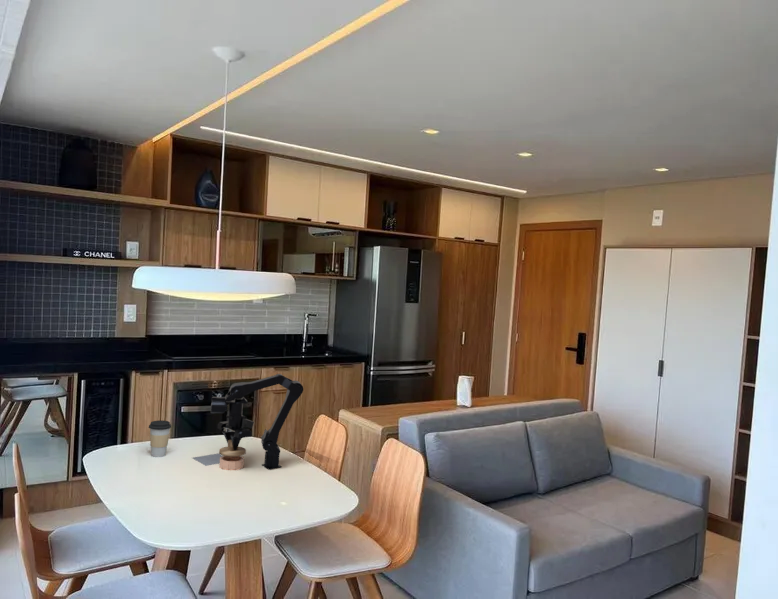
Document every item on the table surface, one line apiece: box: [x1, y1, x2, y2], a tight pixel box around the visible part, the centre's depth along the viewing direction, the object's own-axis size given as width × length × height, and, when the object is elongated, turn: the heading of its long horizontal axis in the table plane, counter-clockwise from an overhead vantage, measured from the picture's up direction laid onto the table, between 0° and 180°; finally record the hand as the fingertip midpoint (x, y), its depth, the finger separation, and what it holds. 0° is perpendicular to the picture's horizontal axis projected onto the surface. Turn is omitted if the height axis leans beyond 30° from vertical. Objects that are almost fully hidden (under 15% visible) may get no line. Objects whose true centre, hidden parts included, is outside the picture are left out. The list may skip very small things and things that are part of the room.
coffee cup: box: [148, 419, 172, 458], centre depth 260 cm, size 9×9×15 cm
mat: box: [192, 453, 223, 467], centre depth 260 cm, size 13×13×1 cm
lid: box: [218, 440, 247, 457], centre depth 252 cm, size 11×11×5 cm
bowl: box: [219, 455, 245, 471], centre depth 252 cm, size 10×10×4 cm
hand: (232, 449), depth 252 cm, fingers closed on lid, 3 cm apart
